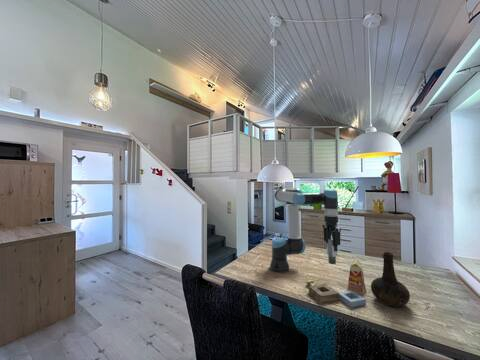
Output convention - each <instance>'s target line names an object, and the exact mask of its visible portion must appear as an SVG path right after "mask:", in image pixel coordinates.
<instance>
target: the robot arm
mask: <svg viewBox="0 0 480 360" xmlns="http://www.w3.org/2000/svg"><path fill="white" fill-rule="evenodd" d="M338 197H339V196H338V190H336V189H325V190H323V192H303V191H302V189H300V188H298V187H281V188H278V189H277V190H276V191H274V199H275V200H276V201H277V202H281V203H285V204H286V206H287V209H288V212H287V213H288V214H287V215H288V236H287V238H285V237H278V238H277V237H276V238H274V239H273V240H272V242H271V255H272V256H271V261H270V265H269V269H270V270H271V271H273V272H276V273H287V272H289V270H290V266H289V265H290V264H289V262H288V256H291V255H294V256H295V255H302V254H304V253H305V250H306V242H305V240H304V239H303V236H301V229H300V226H301V225H300V211H299V210H300V208H299V207H300V206H312V205H314V206H315V205H316V206H317V205H322V206H323V208H324V209H323V210H324V211H323V212H324V216H323V217H324V219H323V220H324V223H325V224H323V225H322V229H323V241H324V242H325V243H326V254H327V255H328V239H329V238H332V240H333V245H332V256H333V257H338V246H341V231H342V228H340V227H338V222H339V207H338V206H339V203H338V202H339V200H338V199H339V198H338Z"/></svg>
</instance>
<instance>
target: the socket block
mask: <svg viewBox="0 0 480 360" xmlns="http://www.w3.org/2000/svg"><path fill="white" fill-rule="evenodd" d="M308 293H309V294H310V295H311V296H312V297H314V298H315V299H316V300H317V301H318V302H319V303H321V304H325V303H331V302H335V301H339V300H340V299H339V292H338V291H337V290H336V289H334V288H333V287H331V286H329V285H328V284H327V283H320V284H315V285H312V286H308Z"/></svg>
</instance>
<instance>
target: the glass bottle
mask: <svg viewBox="0 0 480 360" xmlns="http://www.w3.org/2000/svg"><path fill="white" fill-rule="evenodd" d="M381 257H382V258H383V265H382V266H383V268H382V276H381V277H377V278H375V279H373V280H372V281H371V283H370V289H371V293H372V295H373V296H374V298H376V299H377V300H378V301H379V302H380V303H382V304H384V305H386V306H389V307H393V308H399V307H401V308H402V307H404V306H406V305H407V304H408V303H409V301H410V298H411V295H410V291H409V289H408V287H406V285H405V284H403V283H402V282H401V281H398V278H397V276H396V273H395V272H396V271H395V266H394V254H393V253H391V252H388V251H385V252H384V251H383V254H382V255H381Z"/></svg>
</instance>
